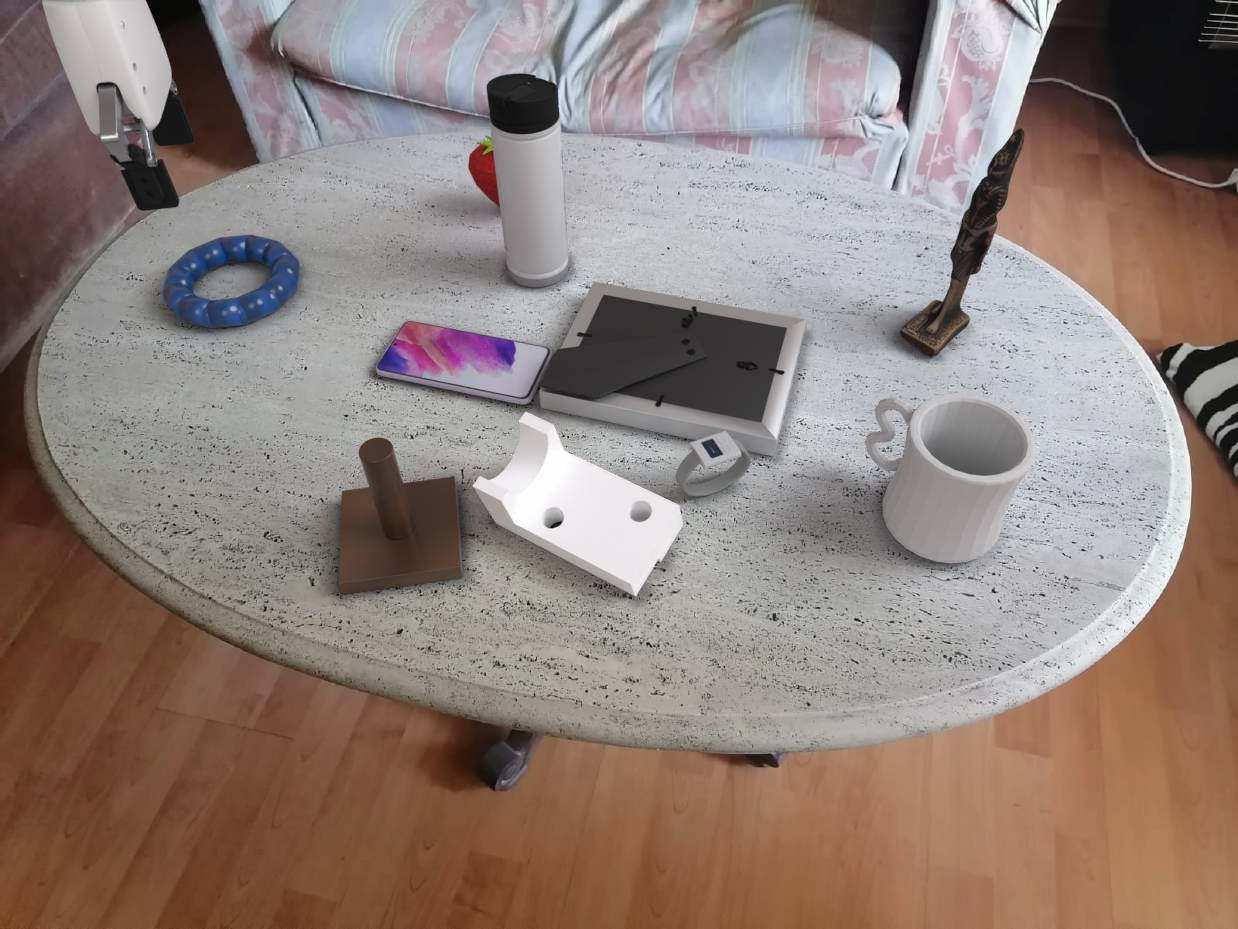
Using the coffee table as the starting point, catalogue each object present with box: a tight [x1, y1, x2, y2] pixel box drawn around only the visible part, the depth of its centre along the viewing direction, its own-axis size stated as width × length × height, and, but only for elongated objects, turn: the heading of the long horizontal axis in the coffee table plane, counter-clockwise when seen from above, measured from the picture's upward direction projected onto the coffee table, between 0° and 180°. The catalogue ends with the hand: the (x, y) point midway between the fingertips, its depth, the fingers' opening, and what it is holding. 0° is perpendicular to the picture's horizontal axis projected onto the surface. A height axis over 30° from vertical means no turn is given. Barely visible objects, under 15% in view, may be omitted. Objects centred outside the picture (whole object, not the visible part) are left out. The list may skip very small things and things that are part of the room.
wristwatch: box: [675, 431, 752, 497], centre depth 76 cm, size 6×3×5 cm, turn 114°
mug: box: [864, 392, 1038, 564], centre depth 72 cm, size 12×9×10 cm
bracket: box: [472, 411, 684, 597], centre depth 72 cm, size 13×7×8 cm, turn 58°
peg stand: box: [337, 436, 464, 595], centre depth 70 cm, size 9×9×10 cm
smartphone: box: [375, 320, 553, 405], centre depth 87 cm, size 7×1×15 cm
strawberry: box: [467, 135, 500, 209], centre depth 100 cm, size 6×8×10 cm
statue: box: [899, 127, 1026, 357], centre depth 82 cm, size 4×7×20 cm, turn 137°
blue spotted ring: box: [161, 234, 301, 329], centre depth 94 cm, size 13×13×3 cm
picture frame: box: [538, 281, 808, 457], centre depth 86 cm, size 16×3×21 cm
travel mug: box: [485, 72, 570, 288], centre depth 89 cm, size 6×7×20 cm
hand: (168, 173), depth 79 cm, fingers open, 9 cm apart
